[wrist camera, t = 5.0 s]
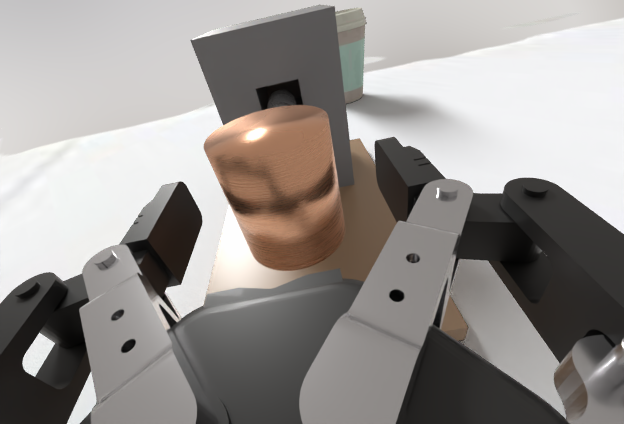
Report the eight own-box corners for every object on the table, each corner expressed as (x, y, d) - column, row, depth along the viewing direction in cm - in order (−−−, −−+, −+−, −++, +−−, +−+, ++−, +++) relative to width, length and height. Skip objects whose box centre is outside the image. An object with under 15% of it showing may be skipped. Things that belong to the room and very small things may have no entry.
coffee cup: (381, 91, 47) (378, 3, 40) (347, 110, 43) (337, 16, 36) (343, 88, 53) (334, 10, 45) (310, 104, 49) (294, 22, 41)
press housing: (464, 339, 14) (564, -12, 6) (195, 388, 15) (-81, 136, 6) (360, 148, 32) (347, -3, 24) (242, 173, 33) (189, 35, 25)
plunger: (354, 258, 11) (338, 139, 8) (245, 280, 11) (189, 171, 8) (317, 129, 22) (304, 59, 19) (262, 141, 22) (241, 73, 19)
